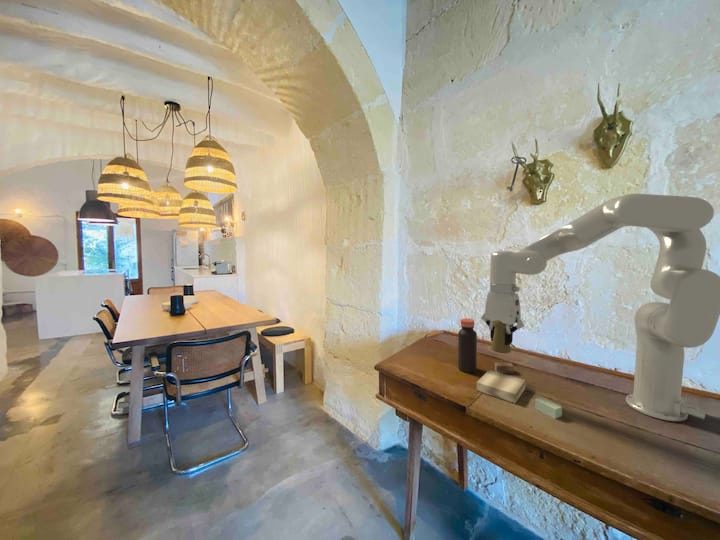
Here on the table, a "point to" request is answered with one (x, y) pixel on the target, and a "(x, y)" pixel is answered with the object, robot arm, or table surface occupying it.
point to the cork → (499, 338)
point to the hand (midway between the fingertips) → (501, 341)
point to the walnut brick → (504, 367)
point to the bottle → (467, 347)
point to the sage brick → (548, 407)
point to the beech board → (501, 386)
